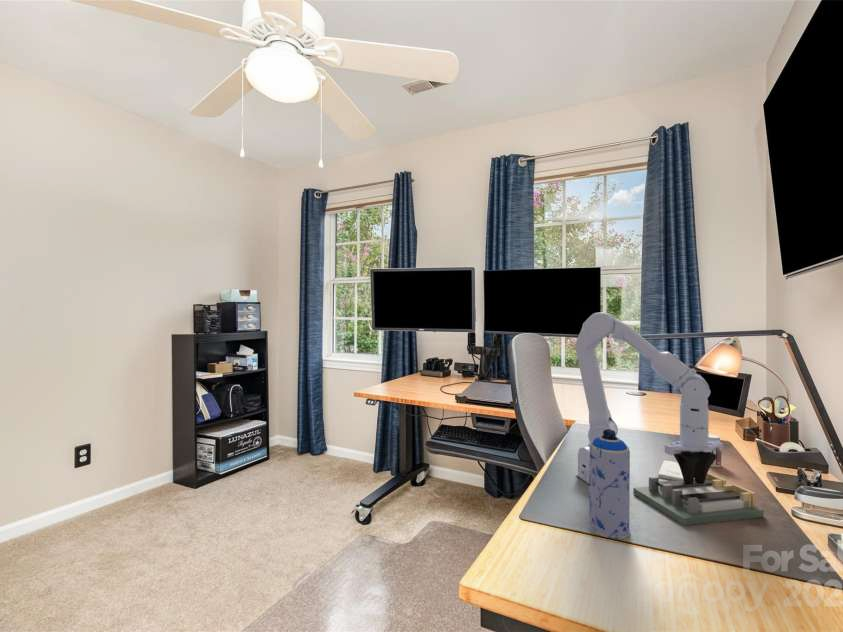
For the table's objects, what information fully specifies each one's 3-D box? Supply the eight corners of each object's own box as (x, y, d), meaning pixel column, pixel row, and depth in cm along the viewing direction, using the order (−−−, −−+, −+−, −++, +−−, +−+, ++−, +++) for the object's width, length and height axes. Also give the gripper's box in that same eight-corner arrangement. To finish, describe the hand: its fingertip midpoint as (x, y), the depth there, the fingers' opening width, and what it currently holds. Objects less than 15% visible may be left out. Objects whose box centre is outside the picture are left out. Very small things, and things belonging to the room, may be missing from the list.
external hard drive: (697, 472, 115) (694, 487, 105) (663, 465, 120) (657, 479, 110) (697, 466, 115) (694, 480, 105) (663, 459, 120) (657, 473, 110)
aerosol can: (594, 514, 89) (595, 423, 89) (634, 527, 84) (635, 430, 84) (582, 529, 83) (583, 431, 83) (624, 543, 78) (625, 439, 78)
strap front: (689, 502, 88) (690, 499, 88) (680, 497, 90) (680, 494, 90) (743, 498, 91) (744, 495, 91) (732, 493, 93) (732, 490, 93)
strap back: (664, 488, 95) (664, 486, 95) (656, 484, 97) (656, 481, 97) (715, 485, 97) (715, 482, 97) (706, 480, 100) (706, 478, 100)
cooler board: (684, 525, 85) (684, 504, 84) (633, 494, 99) (633, 475, 99) (763, 516, 88) (763, 496, 88) (703, 487, 103) (703, 469, 103)
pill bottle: (716, 462, 121) (717, 434, 121) (724, 468, 116) (724, 438, 116) (698, 460, 122) (698, 432, 122) (705, 466, 117) (705, 437, 117)
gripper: (681, 431, 92) (681, 491, 92) (735, 428, 95) (735, 486, 95) (657, 423, 99) (657, 479, 99) (708, 420, 102) (708, 474, 102)
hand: (693, 482), depth 98 cm, fingers closed on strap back, 2 cm apart
